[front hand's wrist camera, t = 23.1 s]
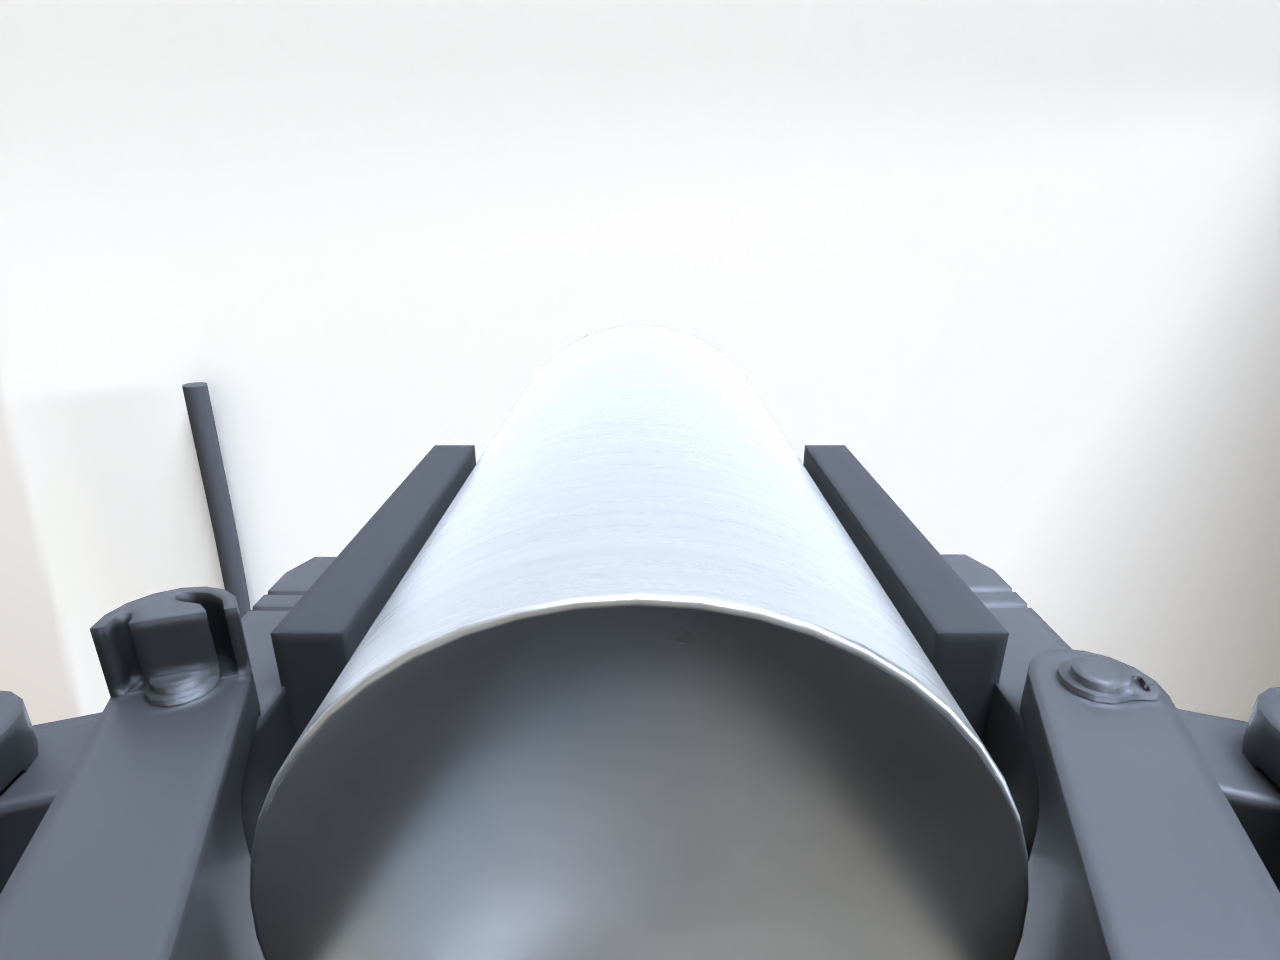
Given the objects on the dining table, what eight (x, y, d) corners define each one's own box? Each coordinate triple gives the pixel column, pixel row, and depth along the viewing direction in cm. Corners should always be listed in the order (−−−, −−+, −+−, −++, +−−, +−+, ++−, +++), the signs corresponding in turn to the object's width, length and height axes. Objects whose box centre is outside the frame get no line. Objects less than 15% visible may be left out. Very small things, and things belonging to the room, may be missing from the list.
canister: (535, 586, 19) (364, 1195, 7) (485, 344, 16) (120, 655, 5) (778, 556, 18) (1013, 1143, 7) (760, 306, 16) (1060, 543, 5)
